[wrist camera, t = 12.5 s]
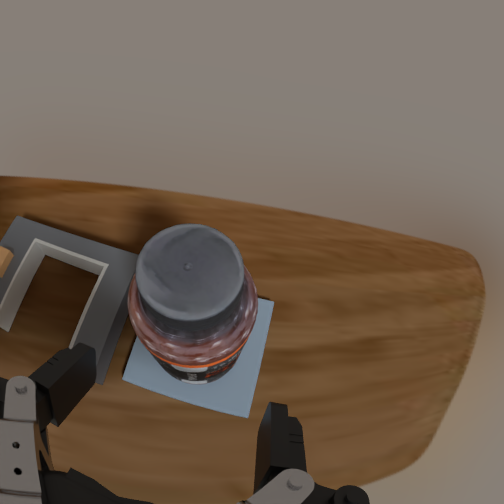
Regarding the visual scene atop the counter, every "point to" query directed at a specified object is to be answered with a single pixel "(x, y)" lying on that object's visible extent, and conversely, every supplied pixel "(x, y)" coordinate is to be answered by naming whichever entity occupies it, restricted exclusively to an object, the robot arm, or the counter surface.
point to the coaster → (214, 393)
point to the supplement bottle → (192, 302)
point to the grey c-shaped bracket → (79, 255)
